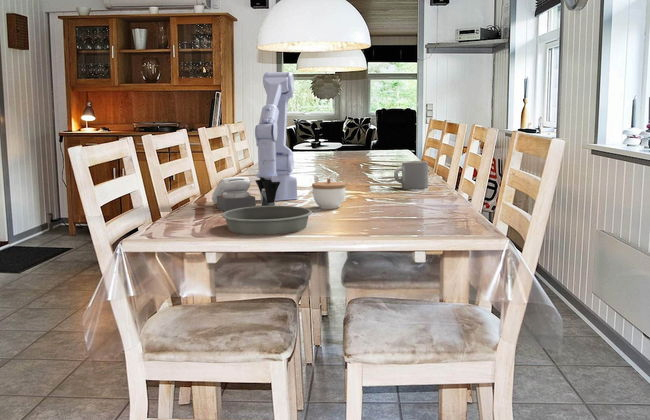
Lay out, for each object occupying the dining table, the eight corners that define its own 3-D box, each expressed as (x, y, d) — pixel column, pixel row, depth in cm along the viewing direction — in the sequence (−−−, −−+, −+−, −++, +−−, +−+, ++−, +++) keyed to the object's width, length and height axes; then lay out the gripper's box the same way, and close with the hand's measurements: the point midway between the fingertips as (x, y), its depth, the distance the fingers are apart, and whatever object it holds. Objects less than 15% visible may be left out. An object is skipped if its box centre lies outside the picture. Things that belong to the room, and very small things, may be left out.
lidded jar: (307, 209, 226) (307, 179, 224) (319, 204, 236) (318, 176, 234) (339, 210, 222) (339, 180, 221) (350, 205, 232) (349, 177, 231)
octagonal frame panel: (246, 205, 235) (246, 190, 235) (255, 209, 227) (255, 193, 227) (217, 208, 231) (216, 192, 230) (225, 211, 223) (224, 195, 222)
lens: (272, 204, 237) (271, 187, 236) (276, 206, 233) (276, 188, 232) (259, 205, 235) (258, 188, 234) (263, 207, 231) (263, 189, 230)
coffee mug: (424, 185, 282) (424, 160, 280) (430, 188, 272) (430, 162, 270) (391, 186, 280) (391, 161, 279) (395, 189, 271) (395, 163, 269)
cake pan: (233, 220, 208) (233, 205, 208) (317, 220, 206) (316, 205, 205) (211, 236, 184) (211, 219, 183) (306, 236, 182) (305, 219, 181)
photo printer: (237, 192, 244) (250, 172, 234) (241, 203, 242) (253, 183, 233) (209, 194, 238) (221, 174, 229) (213, 205, 237) (225, 186, 227)
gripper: (248, 159, 236) (249, 200, 239) (263, 162, 223) (264, 205, 225) (268, 158, 239) (269, 198, 241) (283, 161, 226) (285, 203, 228)
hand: (268, 201), depth 234 cm, fingers closed on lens, 4 cm apart
